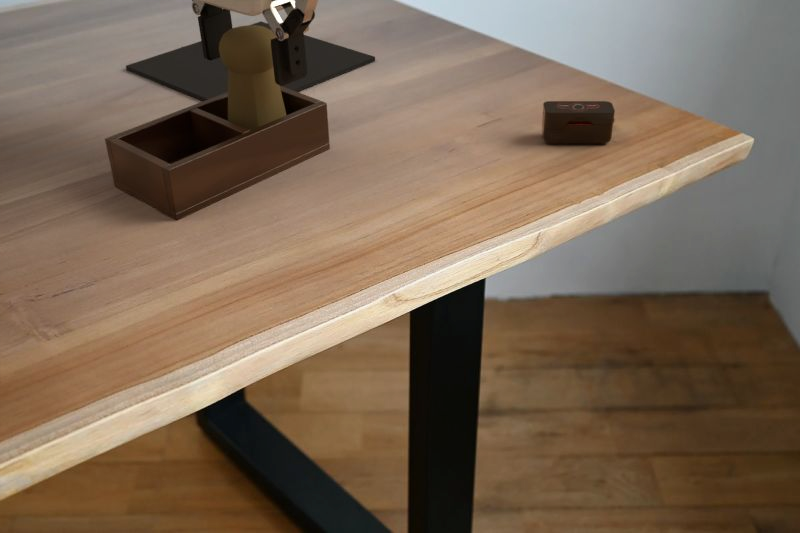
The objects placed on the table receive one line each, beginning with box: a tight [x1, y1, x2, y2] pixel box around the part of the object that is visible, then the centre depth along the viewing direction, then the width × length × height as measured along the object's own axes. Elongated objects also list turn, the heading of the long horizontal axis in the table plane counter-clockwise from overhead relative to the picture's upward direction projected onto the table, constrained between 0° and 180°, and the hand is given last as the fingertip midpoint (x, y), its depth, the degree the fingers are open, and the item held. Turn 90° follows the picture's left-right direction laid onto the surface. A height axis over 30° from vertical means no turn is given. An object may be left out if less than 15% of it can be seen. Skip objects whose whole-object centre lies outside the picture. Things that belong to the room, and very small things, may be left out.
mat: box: [125, 21, 376, 102], centre depth 103 cm, size 20×20×1 cm
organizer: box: [104, 86, 331, 221], centre depth 81 cm, size 9×17×5 cm, turn 138°
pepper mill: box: [219, 24, 286, 131], centre depth 81 cm, size 6×6×11 cm
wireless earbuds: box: [541, 100, 616, 144], centre depth 85 cm, size 5×7×3 cm, turn 88°
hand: (254, 67), depth 80 cm, fingers open, 9 cm apart
